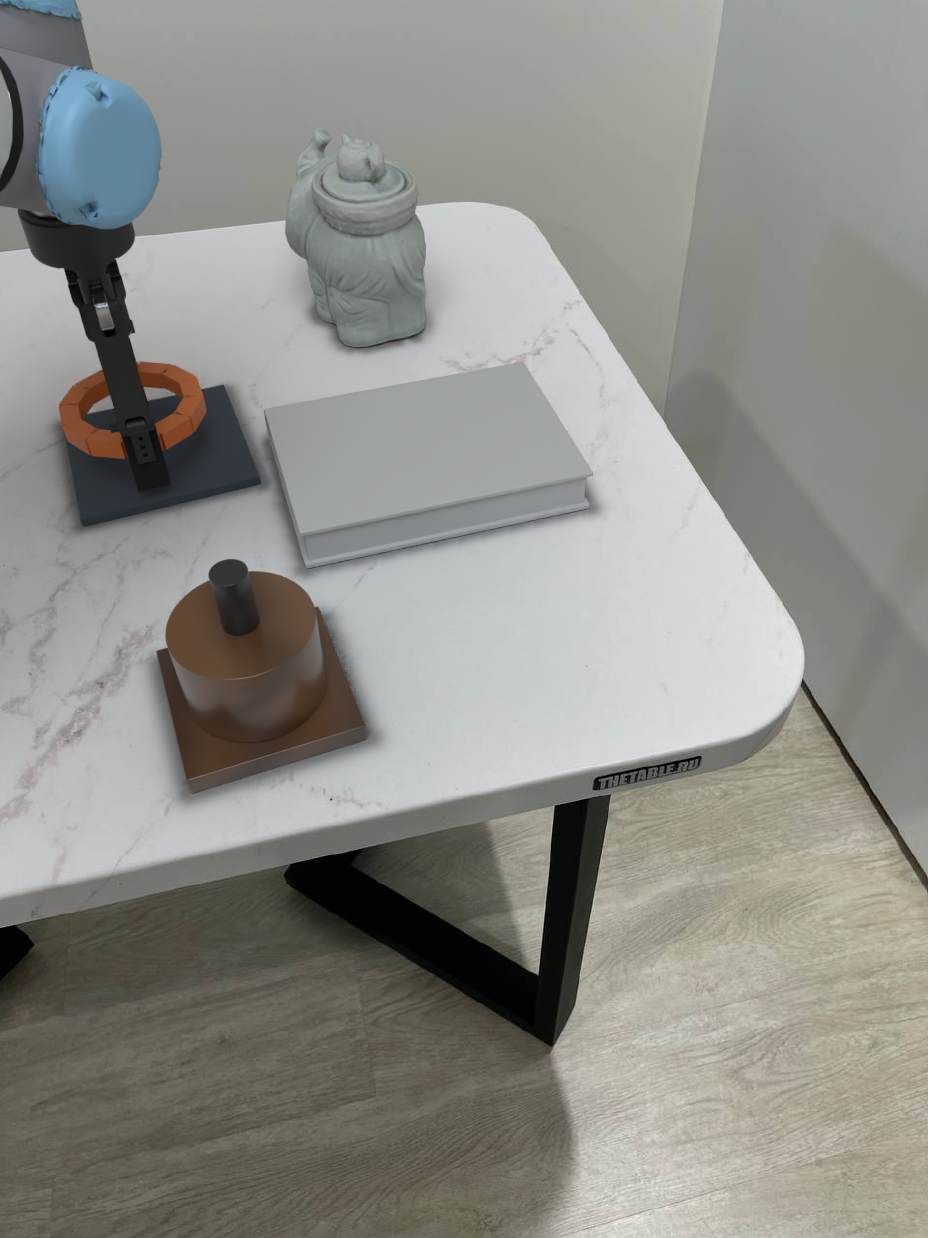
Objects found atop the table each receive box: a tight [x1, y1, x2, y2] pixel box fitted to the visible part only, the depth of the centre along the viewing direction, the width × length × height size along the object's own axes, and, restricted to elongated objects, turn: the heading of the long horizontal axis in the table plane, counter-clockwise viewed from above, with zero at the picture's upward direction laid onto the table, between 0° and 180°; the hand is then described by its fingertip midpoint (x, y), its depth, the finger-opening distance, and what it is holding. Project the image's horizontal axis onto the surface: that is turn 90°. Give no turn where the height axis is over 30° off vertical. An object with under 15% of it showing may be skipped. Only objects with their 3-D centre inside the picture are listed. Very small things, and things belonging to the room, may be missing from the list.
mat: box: [64, 384, 262, 527], centre depth 90 cm, size 15×15×1 cm
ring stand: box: [155, 558, 368, 794], centre depth 66 cm, size 12×12×12 cm
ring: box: [58, 361, 206, 459], centre depth 85 cm, size 12×12×2 cm
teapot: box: [284, 127, 427, 348], centre depth 100 cm, size 16×15×19 cm
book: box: [263, 361, 594, 570], centre depth 87 cm, size 18×4×24 cm
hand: (143, 444), depth 88 cm, fingers closed on ring, 11 cm apart
